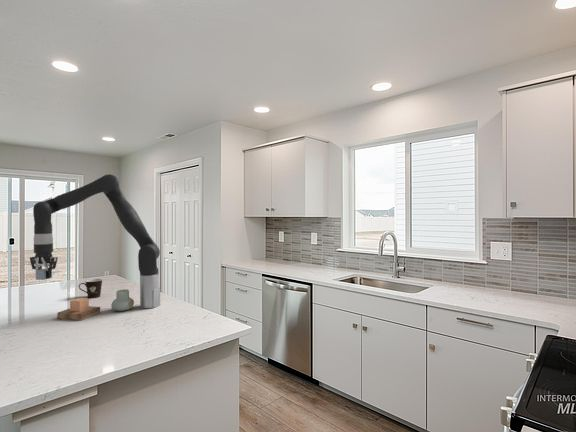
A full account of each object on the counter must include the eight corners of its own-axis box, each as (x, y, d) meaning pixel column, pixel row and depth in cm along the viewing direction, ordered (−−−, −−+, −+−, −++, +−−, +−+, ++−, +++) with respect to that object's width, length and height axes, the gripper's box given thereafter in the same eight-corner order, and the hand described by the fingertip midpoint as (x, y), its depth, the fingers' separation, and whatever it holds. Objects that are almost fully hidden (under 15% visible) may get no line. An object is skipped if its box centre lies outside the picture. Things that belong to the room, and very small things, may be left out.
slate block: (52, 278, 161) (51, 268, 161) (43, 279, 156) (43, 270, 156) (44, 277, 162) (44, 268, 162) (35, 279, 157) (35, 270, 157)
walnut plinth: (100, 312, 165) (100, 306, 165) (81, 320, 153) (81, 314, 153) (77, 311, 168) (77, 305, 167) (57, 318, 156) (57, 312, 156)
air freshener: (125, 312, 165) (125, 293, 165) (109, 312, 165) (109, 293, 165) (135, 306, 176) (135, 288, 176) (120, 306, 176) (120, 288, 176)
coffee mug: (105, 295, 201) (105, 279, 200) (95, 298, 192) (95, 281, 192) (87, 294, 202) (87, 278, 202) (77, 298, 193) (77, 281, 193)
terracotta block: (88, 308, 163) (88, 298, 163) (79, 311, 157) (79, 301, 157) (79, 307, 164) (79, 297, 164) (69, 311, 158) (69, 300, 158)
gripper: (62, 242, 161) (63, 277, 162) (38, 242, 164) (38, 276, 164) (49, 243, 154) (49, 280, 154) (23, 243, 157) (24, 279, 157)
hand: (43, 277), depth 159 cm, fingers closed on slate block, 4 cm apart
